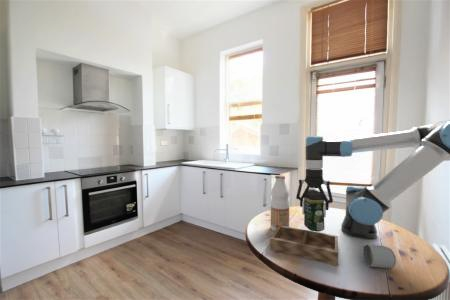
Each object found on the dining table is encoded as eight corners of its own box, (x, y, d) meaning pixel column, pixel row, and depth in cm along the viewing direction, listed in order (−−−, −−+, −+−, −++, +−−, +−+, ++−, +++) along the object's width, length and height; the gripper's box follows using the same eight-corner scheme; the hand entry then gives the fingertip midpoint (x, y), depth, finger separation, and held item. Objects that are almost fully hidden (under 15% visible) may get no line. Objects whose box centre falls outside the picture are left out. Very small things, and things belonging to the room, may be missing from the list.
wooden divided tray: (337, 247, 93) (338, 235, 93) (338, 265, 80) (338, 252, 80) (278, 235, 105) (278, 225, 105) (269, 249, 92) (270, 238, 91)
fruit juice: (267, 230, 111) (267, 176, 110) (274, 224, 119) (275, 173, 117) (285, 234, 106) (285, 178, 104) (291, 228, 113) (292, 175, 112)
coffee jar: (301, 224, 109) (301, 188, 108) (316, 223, 110) (316, 187, 109) (310, 232, 99) (310, 192, 98) (327, 231, 100) (327, 192, 99)
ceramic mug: (397, 272, 76) (398, 251, 76) (372, 271, 77) (373, 249, 76) (379, 256, 86) (379, 237, 86) (357, 255, 87) (357, 236, 87)
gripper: (339, 168, 101) (339, 215, 103) (292, 166, 111) (292, 209, 113) (339, 170, 95) (339, 221, 96) (289, 168, 105) (289, 214, 106)
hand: (314, 214), depth 104 cm, fingers closed on coffee jar, 9 cm apart
